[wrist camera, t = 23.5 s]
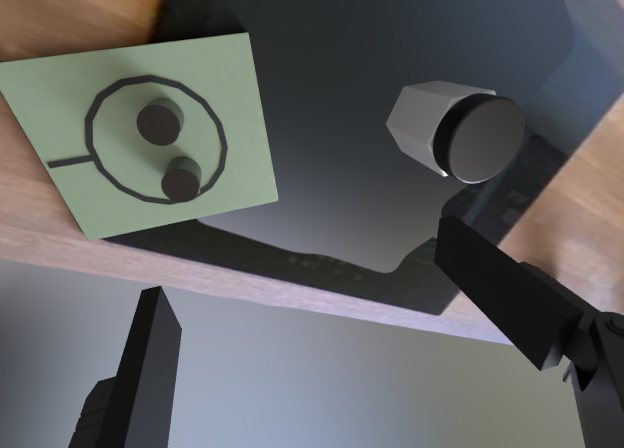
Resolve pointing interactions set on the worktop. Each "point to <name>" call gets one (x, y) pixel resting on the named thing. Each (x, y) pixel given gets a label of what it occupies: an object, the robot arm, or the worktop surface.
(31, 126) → the board
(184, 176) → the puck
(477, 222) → the worktop surface
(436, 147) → the jar
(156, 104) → the cylinder
